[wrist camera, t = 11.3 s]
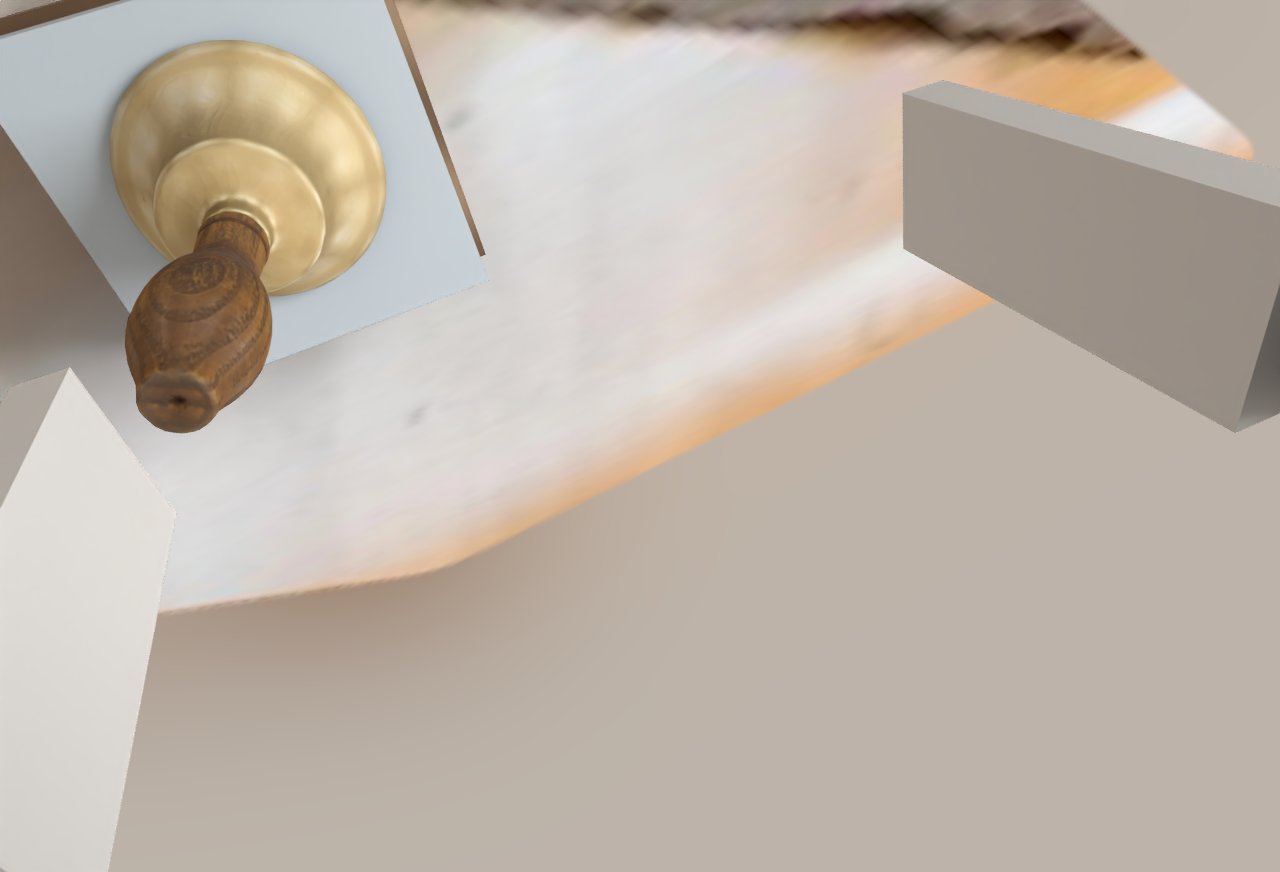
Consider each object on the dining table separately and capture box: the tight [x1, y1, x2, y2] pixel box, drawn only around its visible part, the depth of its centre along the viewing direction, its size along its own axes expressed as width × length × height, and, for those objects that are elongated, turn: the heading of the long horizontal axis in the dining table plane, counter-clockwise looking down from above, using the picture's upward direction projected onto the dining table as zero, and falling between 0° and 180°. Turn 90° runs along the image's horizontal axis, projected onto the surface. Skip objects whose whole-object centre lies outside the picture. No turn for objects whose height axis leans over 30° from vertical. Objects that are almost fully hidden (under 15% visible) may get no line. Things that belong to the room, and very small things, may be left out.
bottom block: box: [0, 0, 486, 256], centre depth 33 cm, size 13×13×4 cm
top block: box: [0, 0, 489, 365], centre depth 29 cm, size 12×12×4 cm
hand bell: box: [110, 40, 386, 433], centre depth 21 cm, size 8×8×16 cm
